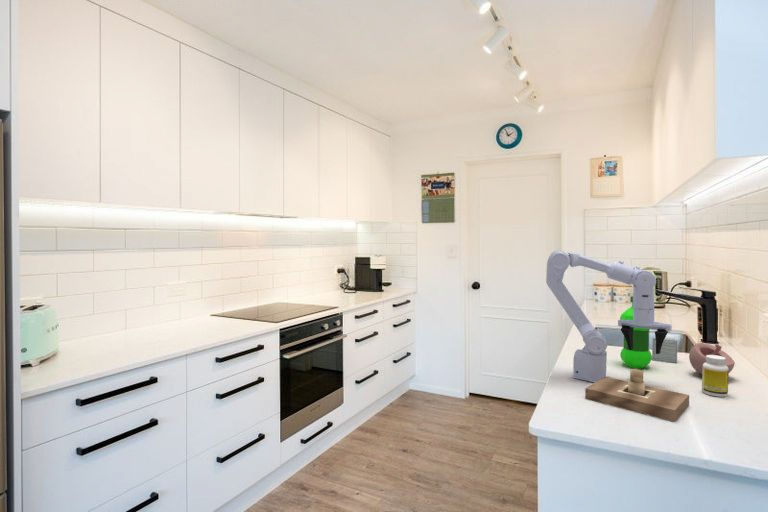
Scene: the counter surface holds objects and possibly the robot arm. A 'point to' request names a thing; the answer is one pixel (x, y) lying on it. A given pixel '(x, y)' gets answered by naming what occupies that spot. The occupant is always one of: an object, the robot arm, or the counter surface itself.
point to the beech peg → (636, 382)
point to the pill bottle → (715, 376)
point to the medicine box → (665, 350)
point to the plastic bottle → (636, 344)
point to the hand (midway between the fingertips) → (644, 351)
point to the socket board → (638, 398)
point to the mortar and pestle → (701, 350)
